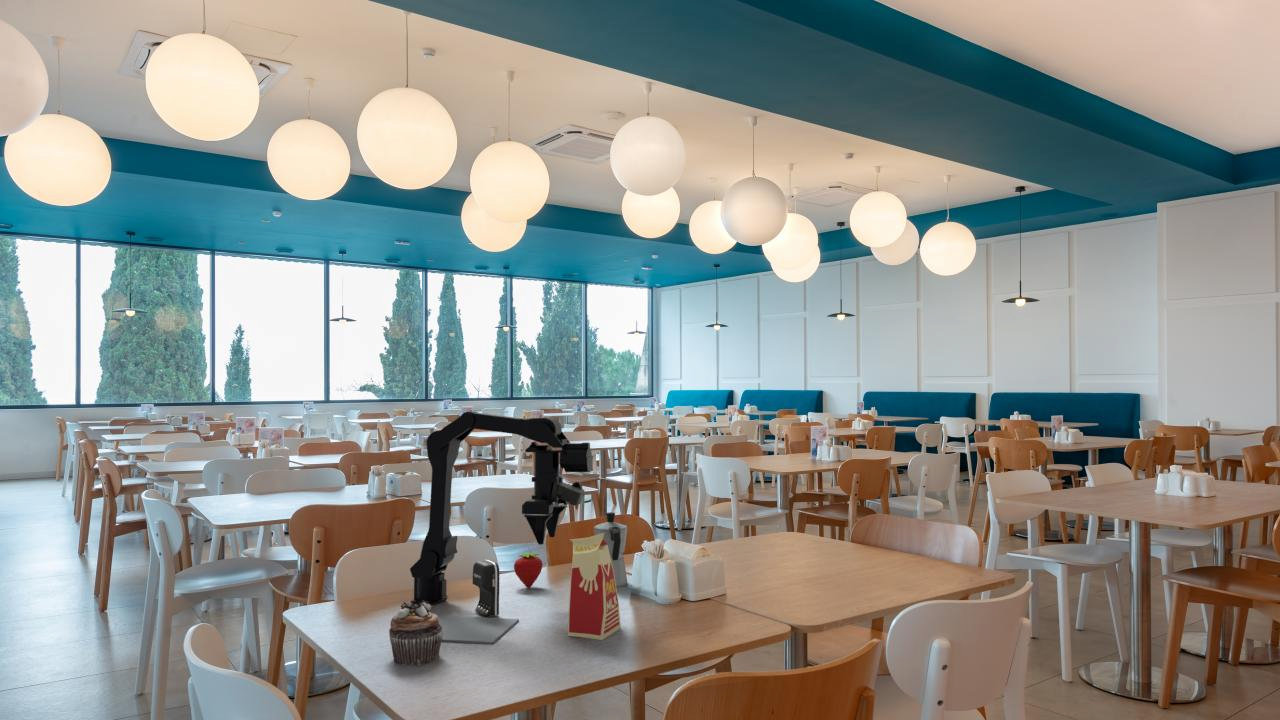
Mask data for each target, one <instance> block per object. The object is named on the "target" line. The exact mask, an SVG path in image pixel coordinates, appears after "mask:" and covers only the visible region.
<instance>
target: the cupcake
mask: <svg viewBox="0 0 1280 720" xmlns="http://www.w3.org/2000/svg"><path fill="white" fill-rule="evenodd" d="M428 603H429V602H425V601H424V600H423V601H422V602H420V603H407V602H404V601H403V603H401V606H400V610H399V611H398V613H396V614H395V615H394V616H393V617H392V619H391V620H390V627H389V630H388V634H389V636H388V637H389V640H390V645H391V651H392V657H393V661H394V663H396V664H398V665H402V666H419V665H422V666H423V665H425V664H426V665H427V664H430V663H432V662H435V661H436V660H438V658H439V656H440V650H441V646H442V636H443V631H444V630H443V628H442V627H441V625H440V624H439V619H438V617H437V616H438V615H437V614H436V613H433V612H431V608H432V606H431V604H428Z"/></svg>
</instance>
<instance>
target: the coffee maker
mask: <svg viewBox="0 0 1280 720" xmlns="http://www.w3.org/2000/svg"><path fill="white" fill-rule="evenodd" d="M605 515H606V522H602V523H599V524H596V525H595V526H594V527H593V530H594V531H593V532H594V533H593V534H594V536H595V535H598V534H602V533H604V536H603V540H604V541H605V542H606V543H607V544H608V549H609V553H610V557H611V562H612V566H613V571H614V576H615V582H616V588H622V586H623V587H625V586H628V585H629V583H628V576H627V570H626V564H625V557H624V556H623V555H624V554H623V553H624V552H625V549H626V543H627V541H626V540H627V533H628V525H626V524H622V523H619V522H616V521H615V518H616V517H615V516H616V512H612V511H611V512H605Z"/></svg>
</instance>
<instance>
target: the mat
mask: <svg viewBox="0 0 1280 720" xmlns="http://www.w3.org/2000/svg"><path fill="white" fill-rule="evenodd" d="M437 617H438V619H439V624H440V625H441V627H442V628H443V630H444V631H443V636H442V641H441V643H442V642H443V643H445V642H446V643H462V644H463V643H464V644H465V643H466V644H481V645H482V644H484V645H494V644H495V643H496V642H497V641H498V640H500V639H501V637H503V635H504V634H506V633H507V632H508V631H509V630H510V629H512V628H513V627H514V626H515V625H516V624H517V623H519V621H520V619H519V618H503V617H501V618H500V617H484V616H481V617H476V616H459V615H458V616H456V615H437Z"/></svg>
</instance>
